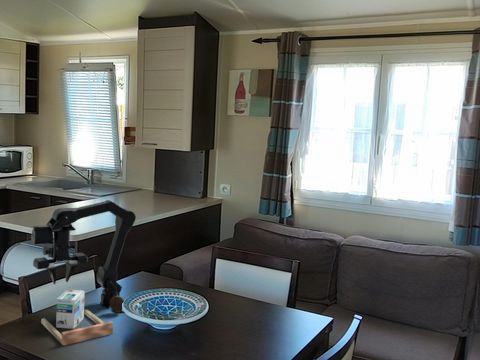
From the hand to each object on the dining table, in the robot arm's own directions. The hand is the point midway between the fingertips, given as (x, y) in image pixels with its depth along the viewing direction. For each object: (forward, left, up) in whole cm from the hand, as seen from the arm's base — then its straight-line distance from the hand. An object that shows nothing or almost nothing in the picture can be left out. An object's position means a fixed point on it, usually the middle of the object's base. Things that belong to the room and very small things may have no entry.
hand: (60, 282), depth 184 cm
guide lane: (0, +15, -12) cm, 20 cm away
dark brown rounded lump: (-20, +8, -12) cm, 25 cm away
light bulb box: (0, +10, -12) cm, 16 cm away
